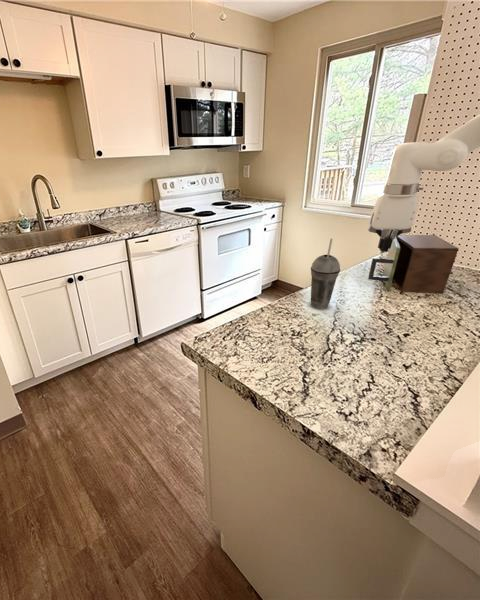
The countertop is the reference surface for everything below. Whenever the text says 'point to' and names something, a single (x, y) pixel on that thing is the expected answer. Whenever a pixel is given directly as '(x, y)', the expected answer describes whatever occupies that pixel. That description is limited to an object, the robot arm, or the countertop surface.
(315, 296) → the beverage cup
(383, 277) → the cupboard door
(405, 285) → the cupboard
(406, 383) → the countertop surface
